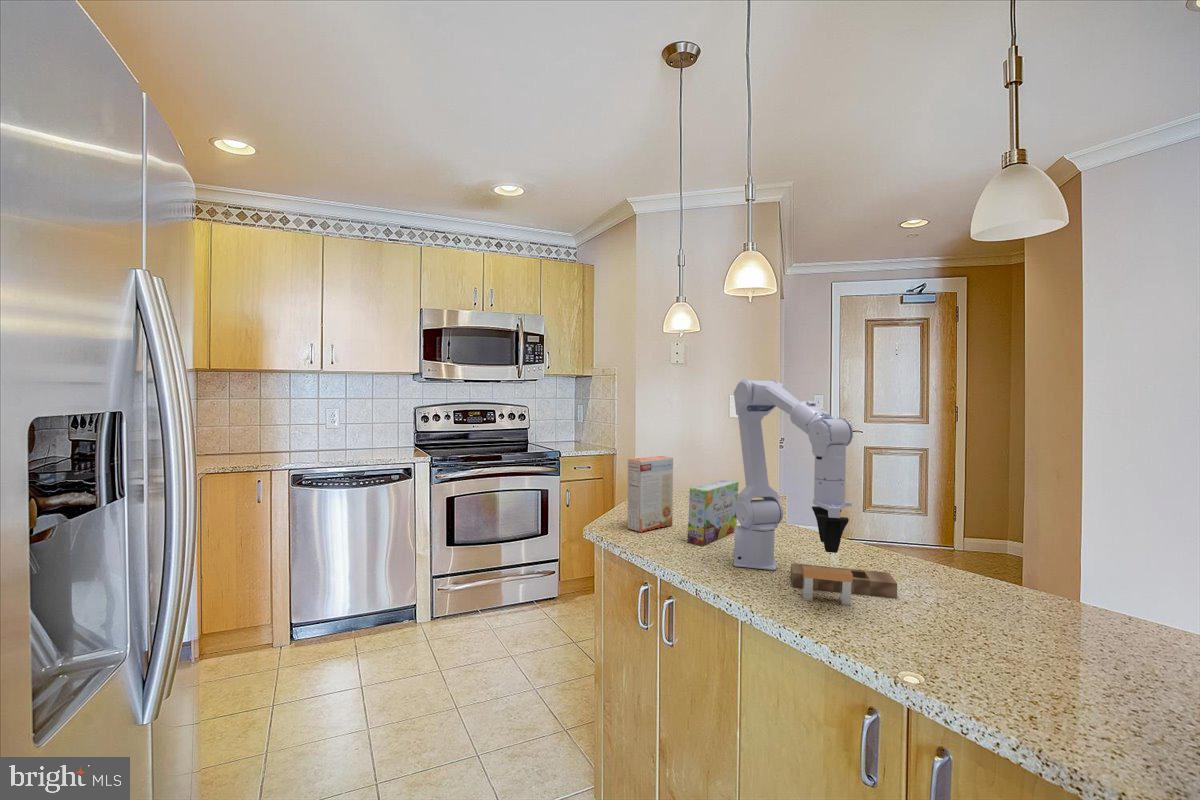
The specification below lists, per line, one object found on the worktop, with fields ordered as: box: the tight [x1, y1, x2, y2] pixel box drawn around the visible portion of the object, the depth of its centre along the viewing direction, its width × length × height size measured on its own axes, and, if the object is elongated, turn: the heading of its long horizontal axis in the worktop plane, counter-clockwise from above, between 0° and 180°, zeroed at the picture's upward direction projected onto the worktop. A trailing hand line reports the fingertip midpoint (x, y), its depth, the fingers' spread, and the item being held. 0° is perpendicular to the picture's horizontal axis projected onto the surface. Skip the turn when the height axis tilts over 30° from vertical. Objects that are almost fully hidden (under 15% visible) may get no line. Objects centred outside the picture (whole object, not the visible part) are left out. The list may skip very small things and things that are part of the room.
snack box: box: [687, 479, 740, 547], centre depth 157 cm, size 21×6×15 cm, turn 143°
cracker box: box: [627, 455, 674, 533], centre depth 166 cm, size 14×6×21 cm, turn 130°
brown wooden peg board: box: [790, 562, 898, 599], centre depth 118 cm, size 20×7×3 cm, turn 74°
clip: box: [802, 566, 853, 606], centre depth 111 cm, size 9×3×6 cm, turn 74°
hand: (828, 546), depth 111 cm, fingers open, 7 cm apart
